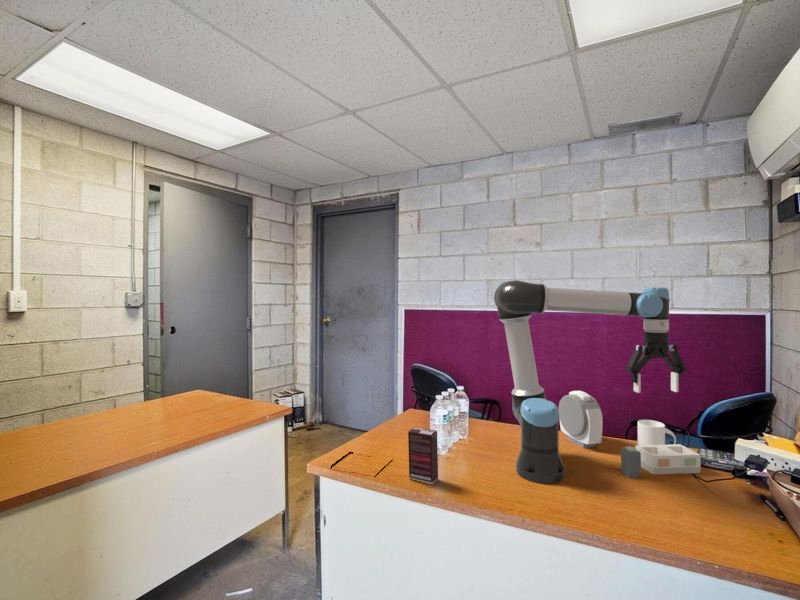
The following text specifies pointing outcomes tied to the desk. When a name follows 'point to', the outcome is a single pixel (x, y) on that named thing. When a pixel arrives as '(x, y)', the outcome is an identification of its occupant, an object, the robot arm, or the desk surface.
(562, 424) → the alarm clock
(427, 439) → the supplement box
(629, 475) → the plug
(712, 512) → the desk surface
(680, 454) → the divided sorting tray
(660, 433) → the mug
